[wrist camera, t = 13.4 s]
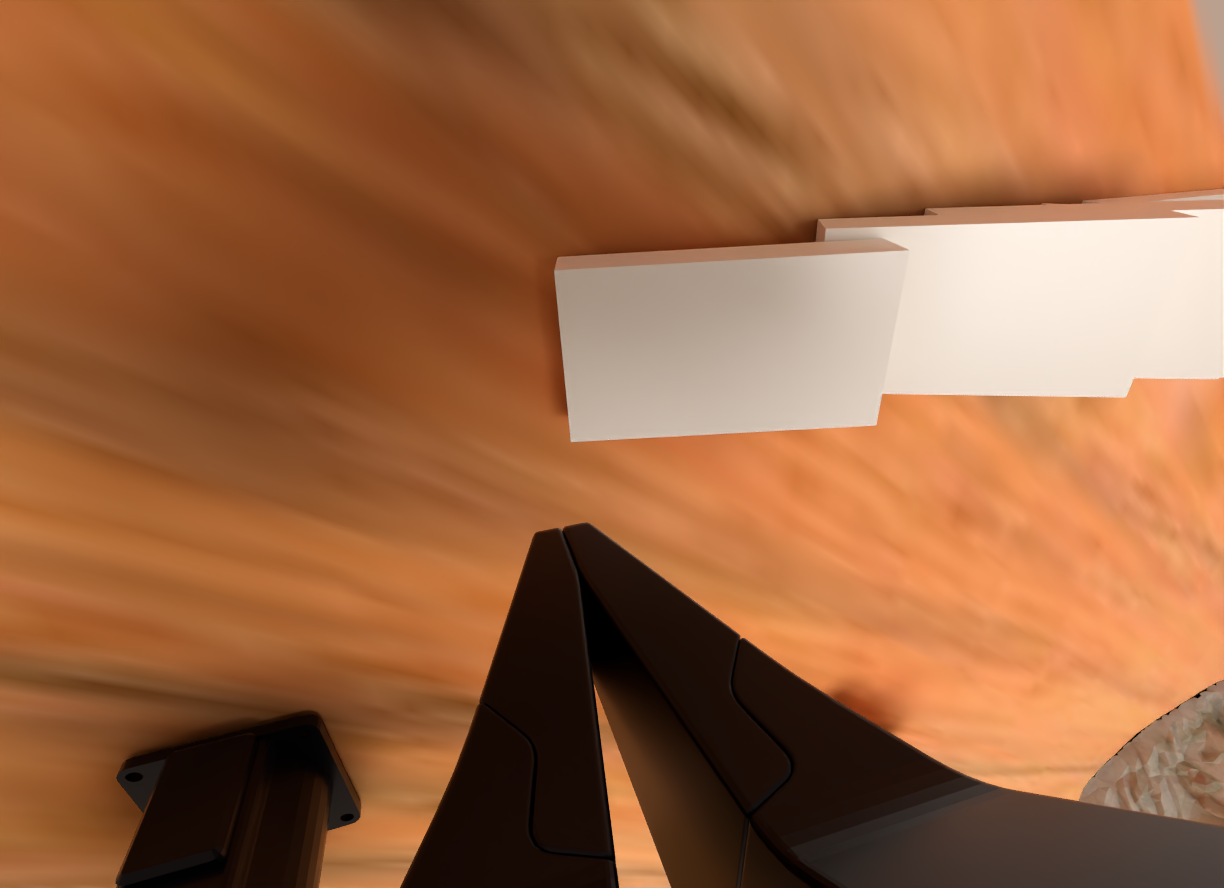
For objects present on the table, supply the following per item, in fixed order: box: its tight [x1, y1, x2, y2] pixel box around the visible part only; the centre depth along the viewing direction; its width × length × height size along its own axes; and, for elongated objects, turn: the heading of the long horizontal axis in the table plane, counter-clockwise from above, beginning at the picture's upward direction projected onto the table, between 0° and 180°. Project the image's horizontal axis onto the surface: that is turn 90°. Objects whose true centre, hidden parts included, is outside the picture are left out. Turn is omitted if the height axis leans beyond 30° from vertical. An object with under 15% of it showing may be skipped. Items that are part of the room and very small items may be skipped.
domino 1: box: [554, 238, 910, 442], centre depth 17 cm, size 5×2×9 cm
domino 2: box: [816, 208, 1200, 397], centre depth 17 cm, size 5×2×9 cm
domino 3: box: [924, 199, 1224, 379], centre depth 18 cm, size 5×2×9 cm
